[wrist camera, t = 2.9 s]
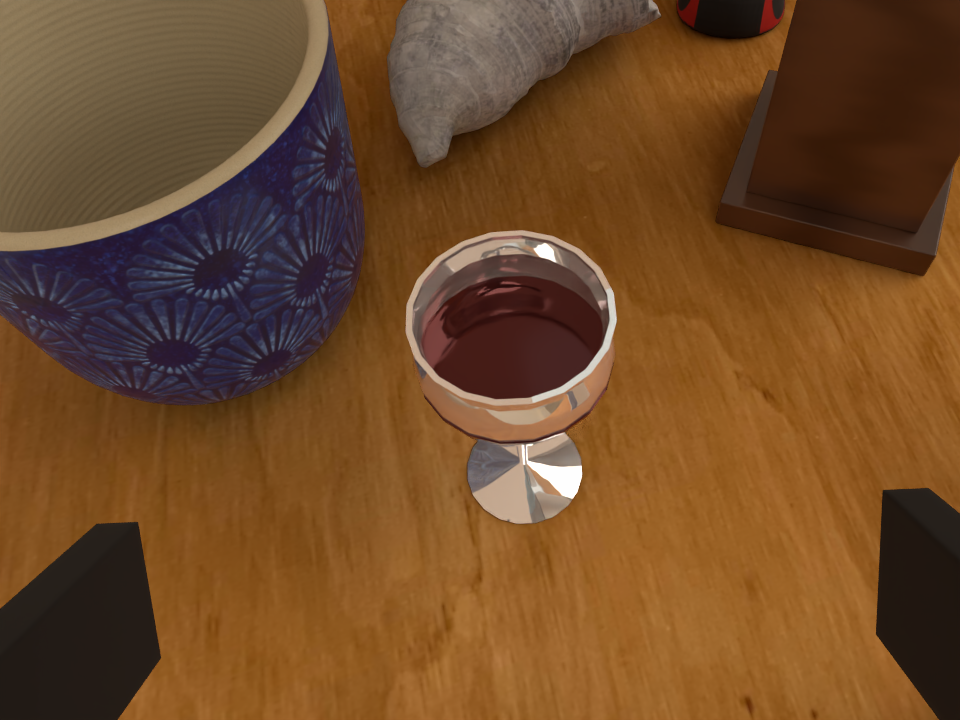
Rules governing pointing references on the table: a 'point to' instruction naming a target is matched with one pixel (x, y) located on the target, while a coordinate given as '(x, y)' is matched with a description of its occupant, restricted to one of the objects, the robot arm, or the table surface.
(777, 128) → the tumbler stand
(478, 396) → the wineglass
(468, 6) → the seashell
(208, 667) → the table surface
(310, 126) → the planter
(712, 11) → the computer mouse
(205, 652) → the table surface
